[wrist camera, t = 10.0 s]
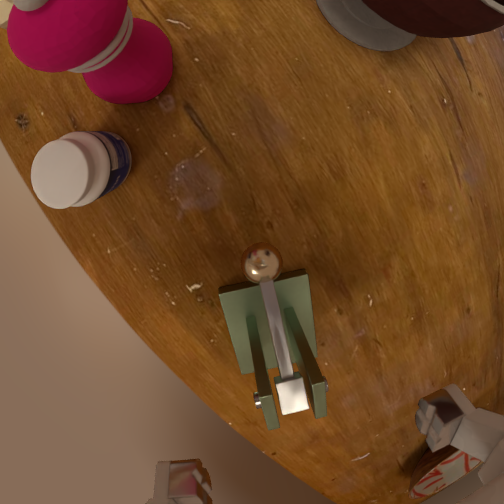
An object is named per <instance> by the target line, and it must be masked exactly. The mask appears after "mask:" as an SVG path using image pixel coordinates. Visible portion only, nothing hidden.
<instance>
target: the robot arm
mask: <svg viewBox="0 0 504 504" xmlns="http://www.w3.org/2000/svg"><path fill="white" fill-rule="evenodd" d="M418 406H419V407H420V408H419V409H418V410H417V412H416V415H415V422H416V425H417V428H418V430H419V431H420V433H422V434H425V435H426V440H425V441H426V443H427V444H428V446H429V448H430V449H431V451H432V452H435V451H437V450H439V449H441V448H443V447H445V446H447V445H449V444H450V445H452V446H454V447H456V448H458V449H460V450H461V451H463V452H465V453H467V454H469V455H471V456H473V457H475V458H477V459H479V460H481V461H483V462H485V463H484V464H483V466H482V467H481V468H480V470H479V472H478V476H479V477H480V479H481V481H482V482H483V484H484V486H482V487H481V488H479V489H478V490H476V491H475V492H473V493H472V494H470V495H468V496H467V497H465V498H464V499H462V500H460V501H459V502H457V503H455V504H504V416H503V415H500V414H497V413H493V412H490V411H487V410H484V409H481V408H477V409H476V408H475V407H474V406H473V405H472V403H471V402H470V401H469V400H468V399H467V397H466V396H465V395H464V394H463V393H462V391H461V390H460V389H459V388H458V387H457V385H455V384H450V385H448V386H446V387H444V388H442V389H440V390H438V391H436V392H434V393H432V394H430V395H427V396H425V397H423V398H421V399H420V400H419V403H418ZM211 490H212V487H211V480H210V476H209V473H208V472H207V469H206V468H203V467H202V462H201V461H200V459H190V460H178V461H160V462H158V463H157V465H156V473H155V485H154V497H153V499H149V500H148V502H147V503H146V504H212V499H211V498H210V496H209V495H208V494H209V493H210V491H211Z"/></svg>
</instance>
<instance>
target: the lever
mask: <svg viewBox="0 0 504 504" xmlns="http://www.w3.org/2000/svg"><path fill="white" fill-rule="evenodd" d="M282 267H283V260H282V256H281V254H280V252H279V250H278V249H277V248H276V247H275V246H273V245H271V244H269V243H266V242H258V243H254V244H252V245H250V246H249V247H248V248H247V249H246V250H245V251H244V253H243V255H242V257H241V269H242V272H243V274H244V275H245V277H246V278H247V279H249V280H250V281H252V282H254V283H257V284H259V285H260V289H261V294H262V298H263V302H264V307H265V311H266V316H267V320H268V325H269V329H270V333H271V338H272V342H273V347H274V351H275V356H276V360H277V364H278V369H279V373H280V376H277V377H274V382H275V386H276V390H277V395H278V399H279V403H280V408H281V412H282V415H286V414H290V413H294V412H298V411H302V410H306V409H309V404H308V399H307V395H306V390H305V385H304V381H303V377H302V376H301V374H300V373H299V372H294V371H293V367H292V362H291V357H290V353H289V348H288V344H287V339H286V335H285V331H284V326H283V322H282V317H281V313H280V308H279V304H278V300H277V295H276V291H275V287H274V282H273V281H274V280H275V279H276V278H277V277H278V276H279V274H280V273H281V270H282Z"/></svg>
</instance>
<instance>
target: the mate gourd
mask: <svg viewBox="0 0 504 504" xmlns="http://www.w3.org/2000/svg"><path fill="white" fill-rule="evenodd" d="M316 1H317V4H318V6H319V8H320V10H321V12H322V14H323V15H324V17H325V18H326V19H327V20H328V22H329V23H330V24H331V25H332V26H333V27H334V28H335V29H336V30H337V31H338V32H339V33H340V34H342V35H343V36H345V37H346V38H347V39H349V40H351V41H352V42H354V43H356V44H358V45H360V46H363V47H366V48H368V49H372V50H377V51H393V50H397V49H400V48H403V47H405V46H407V45H409V44H410V43H411V42H412V41H413V40H414V39H415V37H416V36H417V35H418V36H423V37H434V38H450V37H464V36H471V35H475V34H480V33H484V32H488V31H491V30H494V29H496V28H498V27H500V26H502V25H504V0H316Z"/></svg>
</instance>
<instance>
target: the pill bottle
mask: <svg viewBox="0 0 504 504" xmlns="http://www.w3.org/2000/svg"><path fill="white" fill-rule="evenodd" d="M130 168H131V152H130V149H129V147H128V145H127V143H126V142H125V141H124V140H123V139H122V138H121V137H120V136H119V135H117V134H115V133H112V132H106V131H78V132H72V133H68V134H66V135H64V136H62V137H61V138H59V139H58V140H54V141H51V142H49V143H47V144H46V145H44V146H43V147H42V148H41V149H40V150H39V152H38V153H37V155H36V156H35V159H34V161H33V164H32V168H31V182H32V186H33V189H34V191H35V193H36V195H37V197H38V198H39V199H40V200H41V201H42V202H43V203H44V204H46V205H47V206H49V207H52V208H56V209H64V208H68V207H70V206H73V207H79V206H84V205H87V204H89V203H91V202H93V201H95V200H96V199H98V198H100V197H101V196H103V195H105V194H107V193H108V192H110V191H112V190H114V189H115V188H117V187H118V186H120V185H121V184H122V183H123V182H124V181H125V179H126V178H127V176H128V174H129V172H130Z"/></svg>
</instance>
